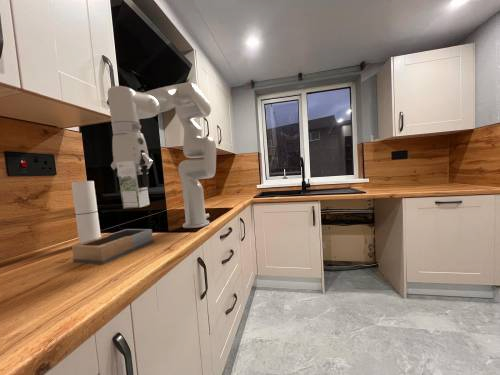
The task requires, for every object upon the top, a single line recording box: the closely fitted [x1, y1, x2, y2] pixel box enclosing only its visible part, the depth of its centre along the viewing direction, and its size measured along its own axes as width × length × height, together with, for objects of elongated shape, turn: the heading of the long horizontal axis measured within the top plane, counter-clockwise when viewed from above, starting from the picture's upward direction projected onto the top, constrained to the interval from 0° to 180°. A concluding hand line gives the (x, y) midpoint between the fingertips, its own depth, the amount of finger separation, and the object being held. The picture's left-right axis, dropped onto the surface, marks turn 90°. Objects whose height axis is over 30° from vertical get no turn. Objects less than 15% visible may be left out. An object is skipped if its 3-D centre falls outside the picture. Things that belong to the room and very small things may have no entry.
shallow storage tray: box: [71, 228, 154, 265], centre depth 76 cm, size 20×13×5 cm, turn 161°
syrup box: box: [117, 161, 150, 209], centre depth 69 cm, size 6×6×14 cm
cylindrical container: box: [71, 180, 102, 244], centre depth 89 cm, size 7×7×25 cm
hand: (134, 187), depth 70 cm, fingers closed on syrup box, 6 cm apart
